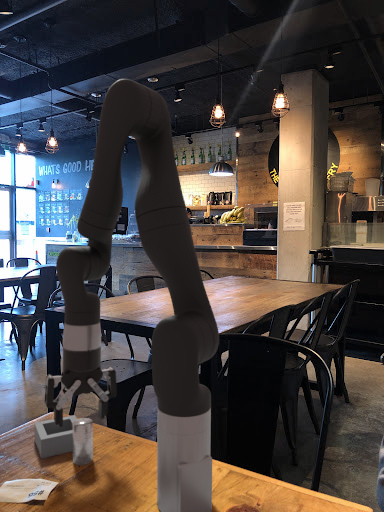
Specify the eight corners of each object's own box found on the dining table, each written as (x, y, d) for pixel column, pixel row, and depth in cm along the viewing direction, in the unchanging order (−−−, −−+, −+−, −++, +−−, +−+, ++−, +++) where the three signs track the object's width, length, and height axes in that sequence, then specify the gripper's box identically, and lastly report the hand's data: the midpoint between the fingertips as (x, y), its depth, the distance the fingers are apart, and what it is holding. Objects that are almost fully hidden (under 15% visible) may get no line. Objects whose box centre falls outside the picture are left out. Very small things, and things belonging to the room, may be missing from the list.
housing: (84, 448, 92) (84, 430, 92) (41, 458, 88) (41, 439, 88) (74, 431, 100) (74, 415, 100) (34, 440, 96) (34, 422, 95)
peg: (95, 462, 87) (95, 423, 86) (75, 467, 85) (75, 428, 84) (89, 453, 90) (89, 416, 90) (70, 457, 88) (70, 420, 88)
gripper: (49, 353, 80) (48, 436, 81) (121, 345, 86) (120, 422, 87) (42, 343, 86) (42, 420, 87) (110, 336, 93) (109, 408, 94)
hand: (81, 421), depth 87 cm, fingers open, 8 cm apart
